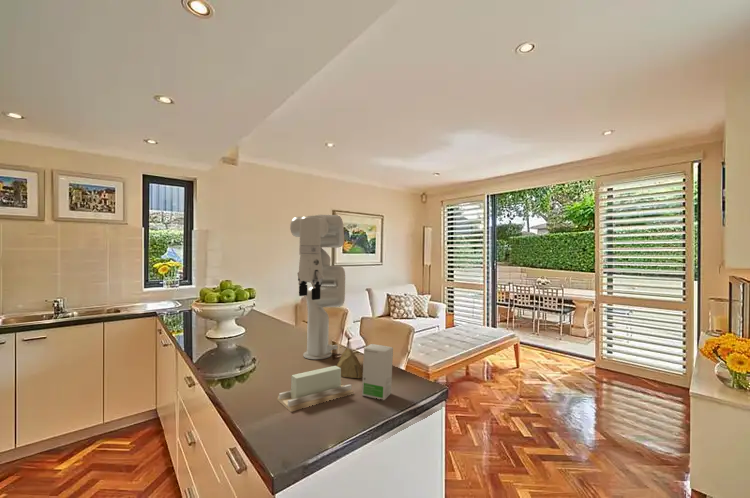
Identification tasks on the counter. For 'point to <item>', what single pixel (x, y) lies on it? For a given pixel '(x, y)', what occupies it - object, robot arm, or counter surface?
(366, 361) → the skincare box
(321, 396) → the bottom track
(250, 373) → the counter surface
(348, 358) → the rock
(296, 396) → the door panel
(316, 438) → the counter surface
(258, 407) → the counter surface
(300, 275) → the robot arm
